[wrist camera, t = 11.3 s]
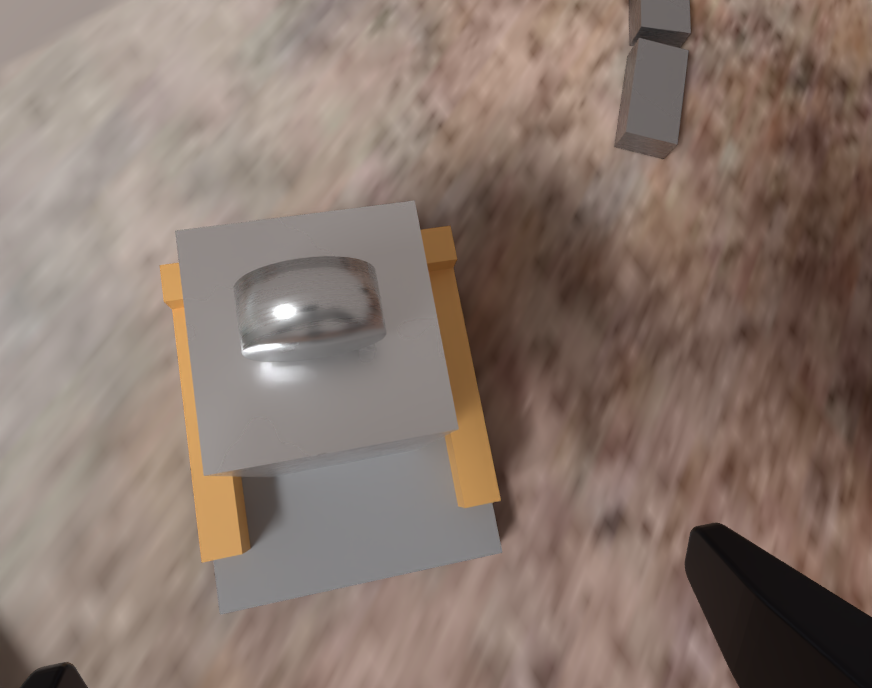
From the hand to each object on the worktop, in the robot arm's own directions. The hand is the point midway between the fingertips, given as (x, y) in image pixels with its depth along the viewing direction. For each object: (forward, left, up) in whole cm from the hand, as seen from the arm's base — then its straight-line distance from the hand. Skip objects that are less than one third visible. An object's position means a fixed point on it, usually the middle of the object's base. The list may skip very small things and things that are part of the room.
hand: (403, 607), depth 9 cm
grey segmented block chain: (+13, -22, -14) cm, 29 cm away
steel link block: (+5, -1, -13) cm, 13 cm away
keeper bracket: (+4, -1, -14) cm, 14 cm away
